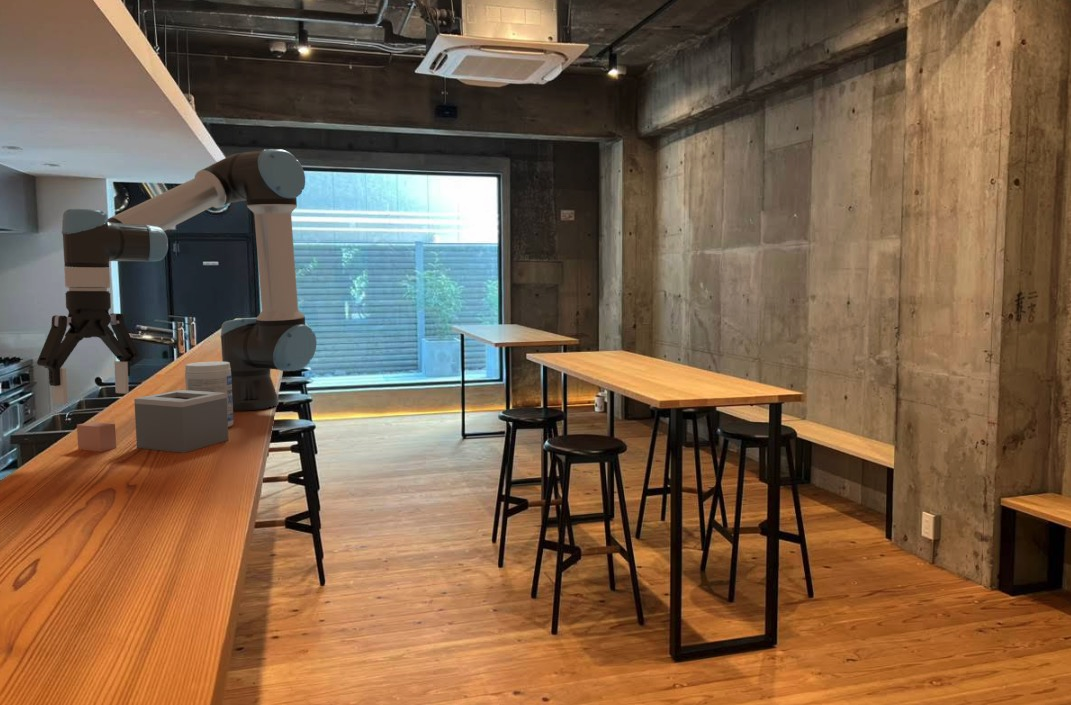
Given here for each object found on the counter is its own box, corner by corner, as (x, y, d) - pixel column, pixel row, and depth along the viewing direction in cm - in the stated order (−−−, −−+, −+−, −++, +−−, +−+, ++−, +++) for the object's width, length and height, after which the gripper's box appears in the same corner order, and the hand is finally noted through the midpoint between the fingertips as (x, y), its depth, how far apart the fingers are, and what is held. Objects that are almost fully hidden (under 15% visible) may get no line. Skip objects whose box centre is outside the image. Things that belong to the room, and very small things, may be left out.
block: (78, 449, 147) (76, 424, 146) (94, 445, 150) (92, 421, 149) (101, 452, 145) (99, 427, 144) (116, 448, 148) (114, 423, 147)
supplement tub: (240, 427, 168) (237, 363, 166) (197, 433, 161) (194, 367, 160) (223, 421, 175) (221, 359, 173) (181, 427, 168) (178, 363, 167)
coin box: (183, 435, 159) (181, 389, 158) (228, 440, 155) (226, 392, 154) (136, 447, 148) (134, 398, 147) (184, 452, 144) (181, 402, 143)
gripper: (127, 289, 157) (131, 388, 159) (10, 289, 134) (16, 405, 135) (155, 289, 155) (158, 390, 156) (40, 290, 131) (46, 408, 133)
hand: (92, 397), depth 146 cm, fingers open, 13 cm apart
